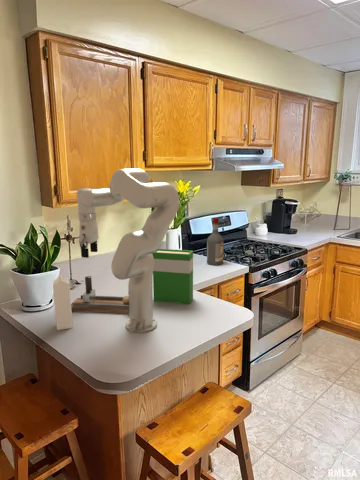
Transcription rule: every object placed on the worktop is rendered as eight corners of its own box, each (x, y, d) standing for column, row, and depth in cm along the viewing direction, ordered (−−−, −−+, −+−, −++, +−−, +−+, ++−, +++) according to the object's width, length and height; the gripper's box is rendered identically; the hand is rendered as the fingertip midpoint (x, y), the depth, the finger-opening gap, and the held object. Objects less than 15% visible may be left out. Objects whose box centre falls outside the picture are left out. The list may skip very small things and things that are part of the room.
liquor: (205, 264, 231) (205, 218, 224) (212, 260, 238) (212, 216, 232) (217, 266, 226) (218, 219, 219) (224, 262, 233) (225, 217, 227)
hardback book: (153, 300, 171) (152, 252, 166) (158, 295, 178) (157, 248, 173) (189, 304, 167) (189, 254, 161) (193, 298, 174) (193, 250, 168)
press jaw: (89, 305, 160) (88, 279, 158) (83, 305, 161) (81, 279, 158) (95, 299, 167) (94, 274, 165) (89, 299, 167) (87, 274, 165)
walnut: (130, 306, 160) (129, 297, 159) (121, 305, 160) (121, 297, 159) (132, 302, 163) (132, 294, 163) (124, 302, 164) (123, 294, 163)
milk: (56, 330, 142) (51, 277, 137) (57, 323, 147) (52, 272, 142) (72, 328, 143) (68, 276, 138) (72, 321, 149) (68, 271, 144)
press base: (138, 313, 156) (137, 296, 155) (68, 310, 160) (67, 293, 159) (143, 304, 166) (143, 288, 165) (77, 301, 170) (76, 285, 169)
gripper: (87, 220, 147) (89, 260, 151) (103, 214, 164) (104, 250, 168) (70, 219, 149) (73, 259, 152) (87, 213, 165) (89, 249, 169)
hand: (89, 254), depth 160 cm, fingers open, 9 cm apart
